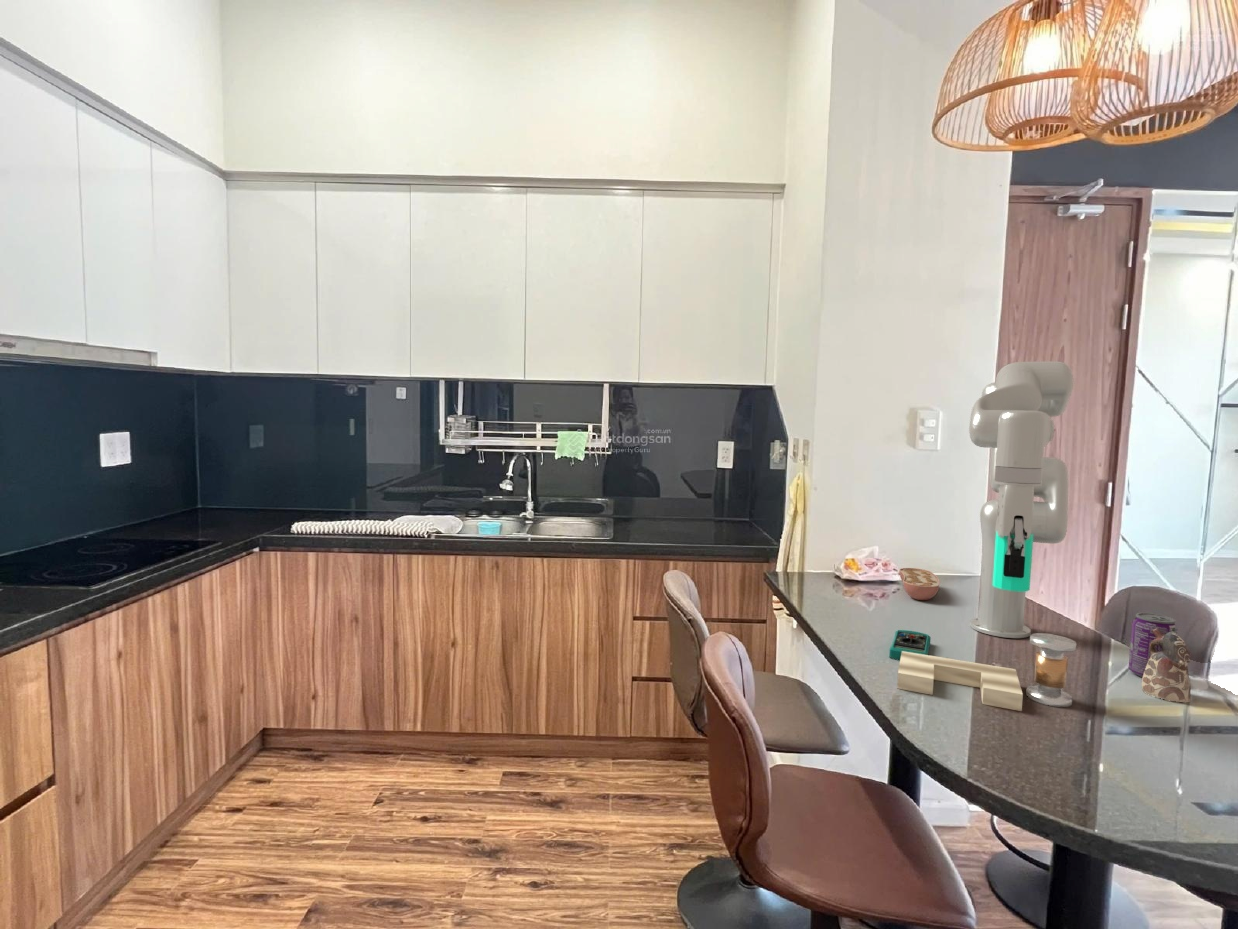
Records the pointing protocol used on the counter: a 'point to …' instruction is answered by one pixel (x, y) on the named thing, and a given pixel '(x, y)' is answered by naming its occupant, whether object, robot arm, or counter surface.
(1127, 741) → the counter surface
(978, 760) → the counter surface
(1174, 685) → the figurine
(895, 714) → the counter surface
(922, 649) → the digital multimeter
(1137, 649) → the beverage can
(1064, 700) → the bobbin post
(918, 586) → the pink elongated rounded piece
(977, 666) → the notched board
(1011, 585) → the candle
